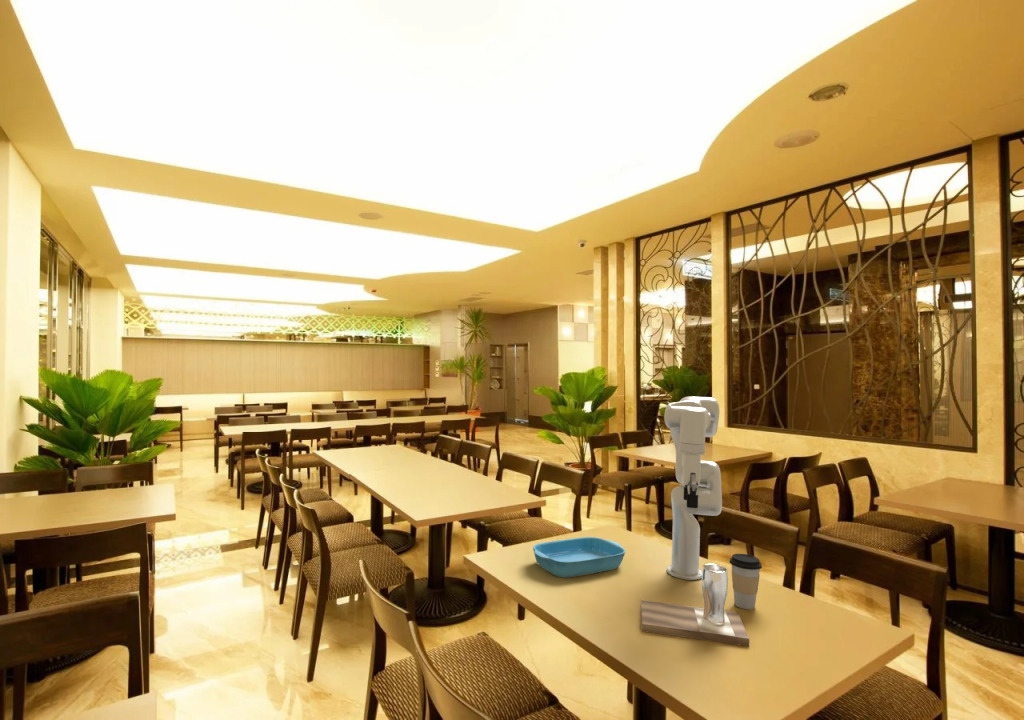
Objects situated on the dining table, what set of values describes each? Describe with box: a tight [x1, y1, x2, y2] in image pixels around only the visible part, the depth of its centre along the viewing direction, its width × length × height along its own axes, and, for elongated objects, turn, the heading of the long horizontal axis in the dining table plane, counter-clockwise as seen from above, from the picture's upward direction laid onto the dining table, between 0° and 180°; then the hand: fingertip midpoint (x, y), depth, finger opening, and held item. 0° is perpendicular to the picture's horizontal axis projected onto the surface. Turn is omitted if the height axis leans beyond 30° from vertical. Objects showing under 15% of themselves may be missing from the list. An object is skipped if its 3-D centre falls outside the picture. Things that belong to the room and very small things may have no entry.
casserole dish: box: [532, 536, 627, 578], centre depth 196 cm, size 37×22×7 cm, turn 120°
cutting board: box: [640, 599, 750, 647], centre depth 152 cm, size 16×28×2 cm, turn 77°
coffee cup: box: [729, 553, 763, 610], centre depth 167 cm, size 9×9×15 cm
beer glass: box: [701, 563, 729, 625], centre depth 151 cm, size 7×7×15 cm
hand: (690, 503), depth 164 cm, fingers open, 9 cm apart
